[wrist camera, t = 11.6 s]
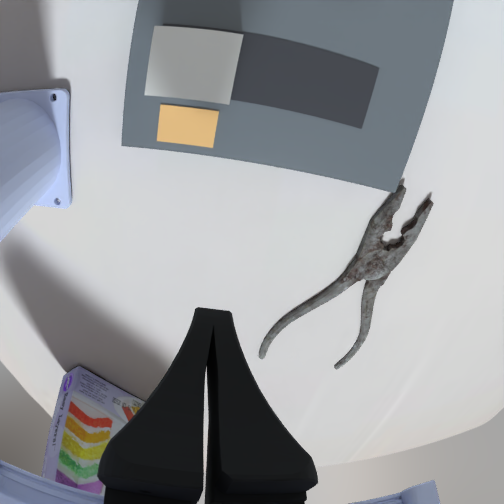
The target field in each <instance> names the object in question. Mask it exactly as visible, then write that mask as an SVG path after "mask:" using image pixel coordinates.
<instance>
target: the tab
mask: <svg viewBox="0 0 504 504" xmlns="http://www.w3.org/2000/svg"><path fill="white" fill-rule="evenodd" d="M242 39H243V34H236V33H230V32H223V31H215V30H206V29H197V28H186V27H172V26H154V31H153V37H152V43H151V50H150V56H149V63H148V70H147V78H146V86H145V95H148V96H161V97H172V98H181V99H190V100H199V101H207V102H214V103H221V104H227V105H229V104H230V98H231V93H232V88H233V83H234V78H235V73H236V68H237V63H238V58H239V53H240V49H241V44H242Z"/></svg>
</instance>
